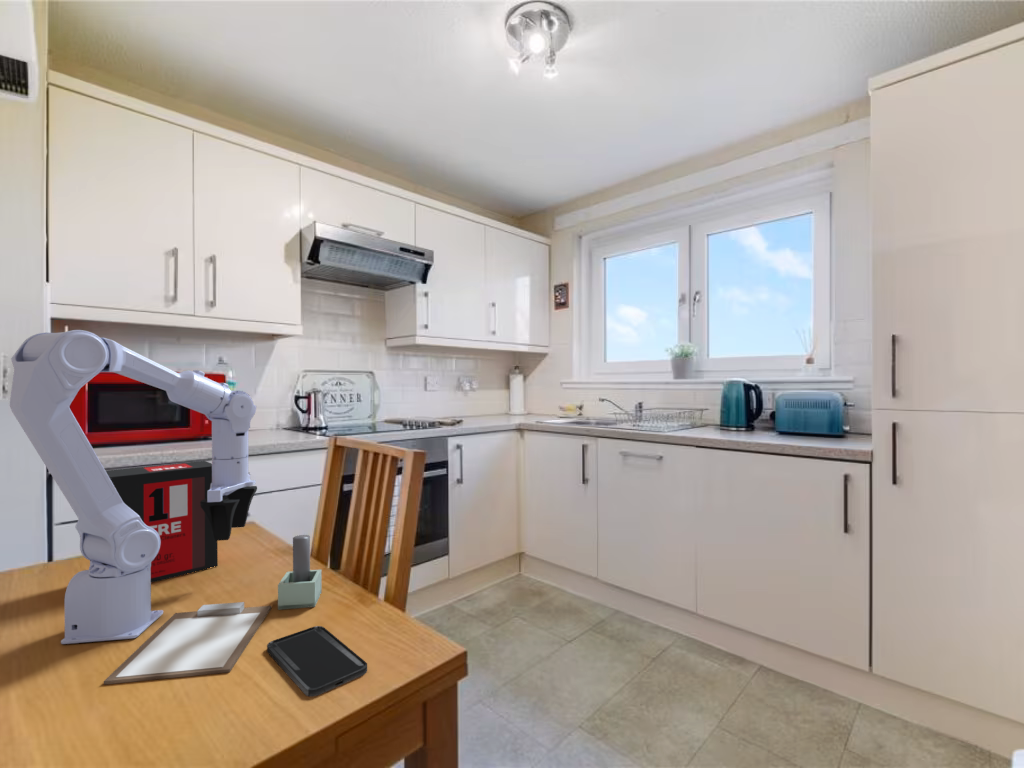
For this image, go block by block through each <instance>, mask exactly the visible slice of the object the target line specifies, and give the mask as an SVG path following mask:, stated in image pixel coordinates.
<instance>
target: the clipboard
mask: <svg viewBox="0 0 1024 768" xmlns="http://www.w3.org/2000/svg"><path fill="white" fill-rule="evenodd" d="M271 609H272V605H265V606H264V605H262V606H251V607H247V606H246V607H245V602H244V601H242V602H241V601H240V602H228V603H227V602H226V603H212V604H202V605H201V606H200V608H198V610H196V611H185V612H182V611H181V612H174V614H173V615H172V616H171V617H169V618H168V620H166V621H165V622H164V623H163V624H162V625H161V626H160V627H159V628H158V629H157V630H156V631H155V632H154V633H153V634H151V636H150V637H148V638H147V640H146V641H144V642H143V643H142V644H141V645H140V646H139V647H137V649H136V650H135V651H134V652H132V654H131V655H130V656H129V657H127V658H126V660H124V662H122V663H121V664H120V665H119V666H118V667H117V668H115V670H114V671H113V672H112V673H111V674H109V675H108V676H107V677H106V679H104V681H103V685H113V684H122V683H123V684H124V683H135V682H141V681H142V682H144V681H154V680H164V679H176V678H183V677H193V676H195V677H196V676H203V675H204V676H205V675H206V676H207V675H214V674H226V673H230V672H231V671H232V670H233V668H234V666H235V665H236V663H237V661H238V660H239V659H240V657H241V656H242V654H243V652H244V651H245V649H246V648H247V647H248V645H249V643H250V642H251V640H252V639H253V637H254V635H255V634H256V632H257V631H258V630H259V629H260V627H261V625H262V623H263V621H264V620H266V617H267V616H268V614H269V613H270V612H271Z"/></svg>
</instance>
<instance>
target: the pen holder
mask: <svg viewBox="0 0 1024 768" xmlns="http://www.w3.org/2000/svg"><path fill="white" fill-rule="evenodd" d="M322 580H323V579H322V568H321V569H310V581H306V582H293V570H292V571H286V573H285V574H284V576H283V577H282V578H281V580H280V581H279V582H278V584H277V610H290V609H304V608H316V605H317V603H318V601H319V599H320V596H321V595H320V594H322V586H323V585H322Z"/></svg>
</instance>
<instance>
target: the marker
mask: <svg viewBox="0 0 1024 768" xmlns="http://www.w3.org/2000/svg"><path fill="white" fill-rule="evenodd" d="M310 538H311V536H310V535H309V534H299V535H295V536H294V537H292V571H293V582H306V581H310V570H311V540H310Z"/></svg>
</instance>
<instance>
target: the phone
mask: <svg viewBox="0 0 1024 768" xmlns="http://www.w3.org/2000/svg"><path fill="white" fill-rule="evenodd" d="M266 652H267V654H268V655H269V657H271V658H272V660H274V662H276V664H277V665H278V666H279V667H280V669H282V670H283V672H285V674H286V675H287V676H288V677H289V678H290V679H291V680H292V682H293V683H294V684H295V685H296V686H297V687H298V688H299V689H300V690H301V692H302V693H303V694H304V696H306V697H310V698H311V697H317V696H320V695H322V694H324V693H327V692H328V691H332V690H333V689H336V688H338V687H340V686H342V685H345V684H347V683H349V682H351V681H353V680H356V679H358V678H360V677H362V676H364V675H365V674H367V672H368V663H367V662H366V661H365V660H364V659H363V658H361V656H359V655H358V654H357V653H355V652H354V650H352V649H351V648H349V647H348V646H347V645H346V644H344V642H342V641H341V640H340V639H339V638H337V637H336V636H335V635H334V634H332V632H331V631H329V630H328V629H327V628H326V627H324V626H321V625H317V626H311V627H308V628H306V629H303V630H300V631H297V632H294V633H290V634H289V635H285V636H282V637H280V638H276V639H274V640H272V641H270V642H268V643H267V645H266Z"/></svg>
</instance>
